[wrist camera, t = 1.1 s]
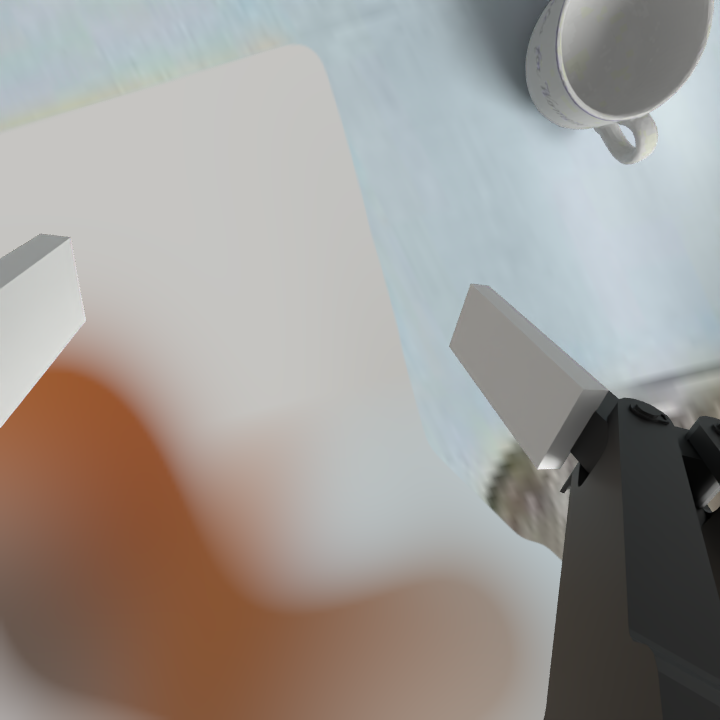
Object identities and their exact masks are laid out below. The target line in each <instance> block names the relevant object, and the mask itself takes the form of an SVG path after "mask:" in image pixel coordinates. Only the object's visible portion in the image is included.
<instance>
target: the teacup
mask: <svg viewBox="0 0 720 720" xmlns="http://www.w3.org/2000/svg"><path fill="white" fill-rule="evenodd" d="M713 12H714V0H551V1H550V2H549V3H548V5H547V6H546V8H545V9H544V11H543V12H542V14H541V16H540V17H539V19H538V21H537V23H536V25H535V27H534V30H533V32H532V35H531V38H530V40H529V45H528V49H527V54H526V64H525V71H526V81H527V87H528V90H529V94H530V96H531V99H532V101H533V103H534V105H535V106H536V108H537V109H538V111H539V112H540V113H541V114H542V115H543V116H544V117H545V118H546V119H548V120H549V121H551V122H552V123H554V124H556V125H558V126H561V127H564V128H568V129H589V128H594V130H595V131H596V132H597V133H598V134H600V136H601V138H602V140H603V141H604V143H605V145H606V146H607V148H608V150H609V151H610V153H611V154H612V155H613V156H614V158H615V159H617V160H618V161H619V162H621V163H623V164H626V165H628V164H635V163H638V162H640V161H642V160H644V159H645V158H647V157H648V156H649V155H650V154H651V153H652V152H653V151H654V149H655V148H656V145H657V141H658V131H657V127H656V124H655V122H654V120H653V119H652V117H651V116H650V114H649V112H651V111H653V110H655V109H656V108H658V107H659V106H661V105H662V104H664V103H665V102H666V101H667V100H668V99H670V98H671V97H672V96H673V95H674V94H675V93H676V92H677V91H678V90H679V89H680V88H681V87H682V86H683V85H684V84H685V82H686V81H687V80H688V78H689V77H690V76H691V74H692V72H693V71H694V69H695V68H696V66H697V64H698V62H699V60H700V58H701V56H702V54H703V51H704V49H705V46H706V44H707V40H708V37H709V33H710V29H711V24H712V17H713ZM618 123H619V124H620V125H624V126H626V127H628V128H629V129H630V130H631V131H632V132H633V134H634V137H635V141H636V147H633V146H632V145H631V144H630V143H629V142H628V140H627V139H626V138H625V136H624V135H623V133H622V131H621V129H620V127H619V125H618Z"/></svg>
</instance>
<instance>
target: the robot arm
mask: <svg viewBox="0 0 720 720" xmlns="http://www.w3.org/2000/svg"><path fill="white" fill-rule="evenodd" d="M85 321H86V318H85V313H84V307H83V302H82V296H81V290H80V285H79V280H78V274H77V268H76V263H75V257H74V252H73V246H72V241H71V237H64V236H55V235H47V234H39V235H38V236H36V237H35V238H33V239H31V240H30V241H28V242H26V243H25V244H23V245H21V246H20V247H18V248H17V249H15V250H13V251H12V252H10V253H9V254H7V255H5V256H4V257H2V258H1V259H0V428H1V427H2V425H3V424H4V423H5V422H6V420H7V419H8V418H9V417H10V415H11V414H12V413H13V412H14V410H15V409H16V408H17V407H18V405H19V404H20V403H21V402H22V400H23V399H24V398H25V397H26V395H27V394H28V393H29V392H30V390H31V389H32V388H33V387H34V385H35V384H36V383H37V382H38V380H39V379H40V378H41V377H42V375H43V374H44V373H45V372H46V370H47V369H48V368H49V367H50V365H51V364H52V363H53V362H54V360H55V359H56V358H57V356H58V355H59V354H60V353H61V351H62V350H63V349H64V348H65V346H66V345H67V344H68V343H69V341H70V340H71V339H72V338H73V336H74V335H75V334H76V333H77V331H78V330H79V329H80V328H81V326H82V325H83V324H84V323H85ZM449 347H450V348H451V350H452V351H453V353H454V354H455V355H456V357H457V358H458V359H459V361H460V362H461V364H462V365H463V366H464V368H465V369H466V371H467V372H468V373H469V375H470V376H471V378H472V379H473V380H474V382H475V383H476V385H477V386H478V387H479V389H480V390H481V392H482V393H483V394H484V396H485V397H486V399H487V400H488V401H489V403H490V404H491V406H492V407H493V408H494V410H495V411H496V412H497V414H498V415H499V417H500V418H501V419H502V421H503V422H504V424H505V425H506V426H507V428H508V429H509V431H510V432H511V433H512V435H513V436H514V438H515V439H516V440H517V442H518V443H519V445H520V446H521V447H522V449H523V450H524V452H525V453H526V454H527V456H528V457H529V458H530V460H531V461H532V463H533V464H534V465H535V467H536V468H537V469H560V468H561V467H562V465H563V464H564V462H565V460H566V459H567V457H568V455H569V454H570V452H571V453H572V454H573V455H574V457H575V458H576V459H577V460H578V461H579V462H578V464H577V465H576V467H575V468H574V470H573V472H572V473H571V475H570V476H569V478H568V479H567V481H566V482H565V484H564V485H563V487H562V489H561V491H560V492H562V493H565V491H566V490H567V489H570V497H569V506H568V515H567V524H566V533H565V542H564V551H563V560H562V570H561V578H560V587H559V596H558V605H557V614H556V624H555V633H554V641H553V650H552V659H551V668H550V678H549V686H548V695H547V704H546V711H545V716H544V720H720V507H719V508H718V509H717V510H716V511H714V512H712V511H711V510H710V508H709V507H708V505H707V504H708V503H709V502H710V500H711V499H712V498H713V497H714V496H715V495H716V494H717V493H718V492H719V491H720V420H719V419H717V418H713V417H708V416H702V417H699V418H698V420H697V421H696V422H695V423H694V425H693V426H692V427H691V428H690V430H687V429H683V428H679V427H675V426H674V425H673V423H672V421H671V420H670V419H669V418H668V416H667V415H665V414H664V413H663V412H661V411H660V410H658V409H656V408H655V407H653V406H651V405H650V404H647V403H645V402H642V401H639V400H636V399H631V398H622V399H618V398H617V397H616V396H615V395H613V394H612V393H611V392H610V391H609V390H608V389H607V388H606V387H604V386H603V385H602V384H601V383H600V382H599V381H598V380H596V379H595V378H594V377H593V376H592V375H591V374H590V373H588V372H587V371H586V370H585V369H584V368H583V367H582V366H580V365H579V364H578V363H577V362H576V361H575V360H573V359H572V358H571V357H570V356H569V355H568V354H567V353H565V352H564V351H563V350H562V349H561V348H560V347H559V346H557V345H556V344H555V343H554V342H553V341H552V340H550V339H549V338H548V337H547V336H546V335H545V334H544V333H542V332H541V331H540V330H539V329H538V328H537V327H536V326H534V325H533V324H532V323H531V322H530V321H529V320H528V319H526V318H525V317H524V316H523V315H522V314H521V313H519V312H518V311H517V310H516V309H515V308H514V307H513V306H511V305H510V304H509V303H508V302H507V301H506V300H505V299H503V298H502V297H501V296H500V295H499V294H498V293H496V292H495V291H494V290H493V289H492V288H491V287H490V286H487V285H478V284H470V287H469V290H468V293H467V296H466V299H465V302H464V305H463V308H462V311H461V313H460V316H459V319H458V322H457V325H456V328H455V331H454V334H453V337H452V339H451V342H450V345H449Z"/></svg>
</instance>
